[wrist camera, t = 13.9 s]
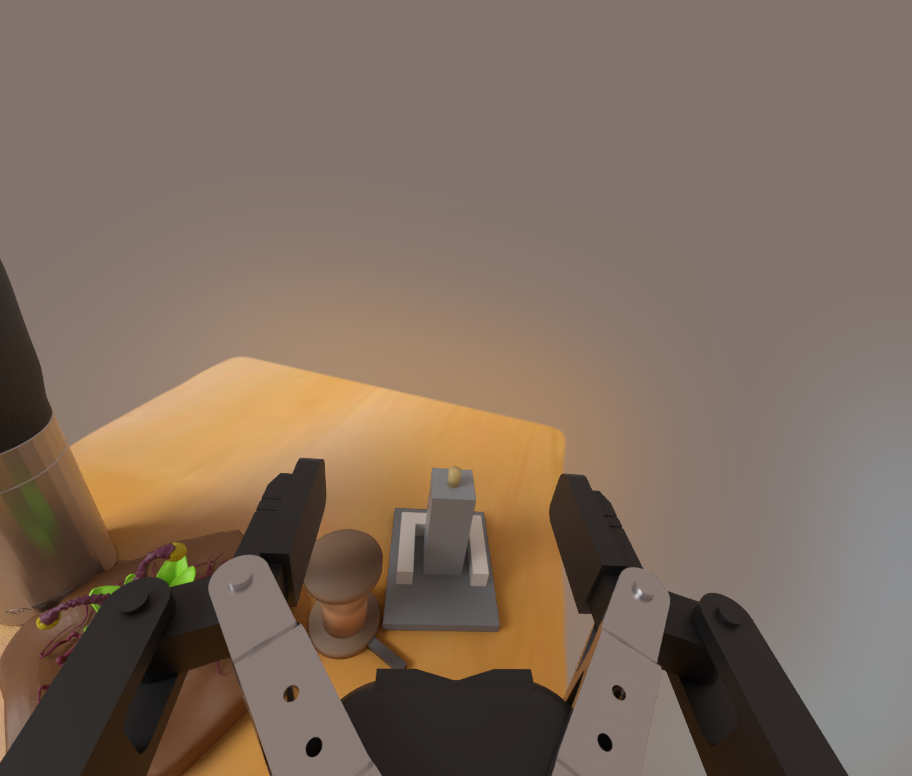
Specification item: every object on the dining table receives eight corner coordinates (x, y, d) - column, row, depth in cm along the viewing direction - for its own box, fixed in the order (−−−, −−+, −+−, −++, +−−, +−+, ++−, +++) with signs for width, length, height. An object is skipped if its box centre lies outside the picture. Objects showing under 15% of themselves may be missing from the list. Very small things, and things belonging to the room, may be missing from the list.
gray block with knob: (461, 575, 43) (478, 487, 36) (423, 574, 42) (434, 485, 36) (458, 543, 46) (474, 457, 40) (423, 542, 46) (433, 455, 39)
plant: (331, 665, 35) (326, 586, 30) (12, 905, 23) (-100, 847, 17) (247, 519, 47) (232, 443, 42) (8, 626, 35) (-59, 538, 29)
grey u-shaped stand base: (498, 631, 39) (503, 613, 38) (382, 629, 38) (383, 611, 36) (482, 517, 51) (486, 500, 50) (394, 513, 50) (395, 496, 49)
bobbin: (300, 609, 39) (293, 546, 34) (364, 579, 42) (365, 519, 38) (334, 715, 32) (330, 654, 27) (407, 670, 35) (415, 610, 31)
